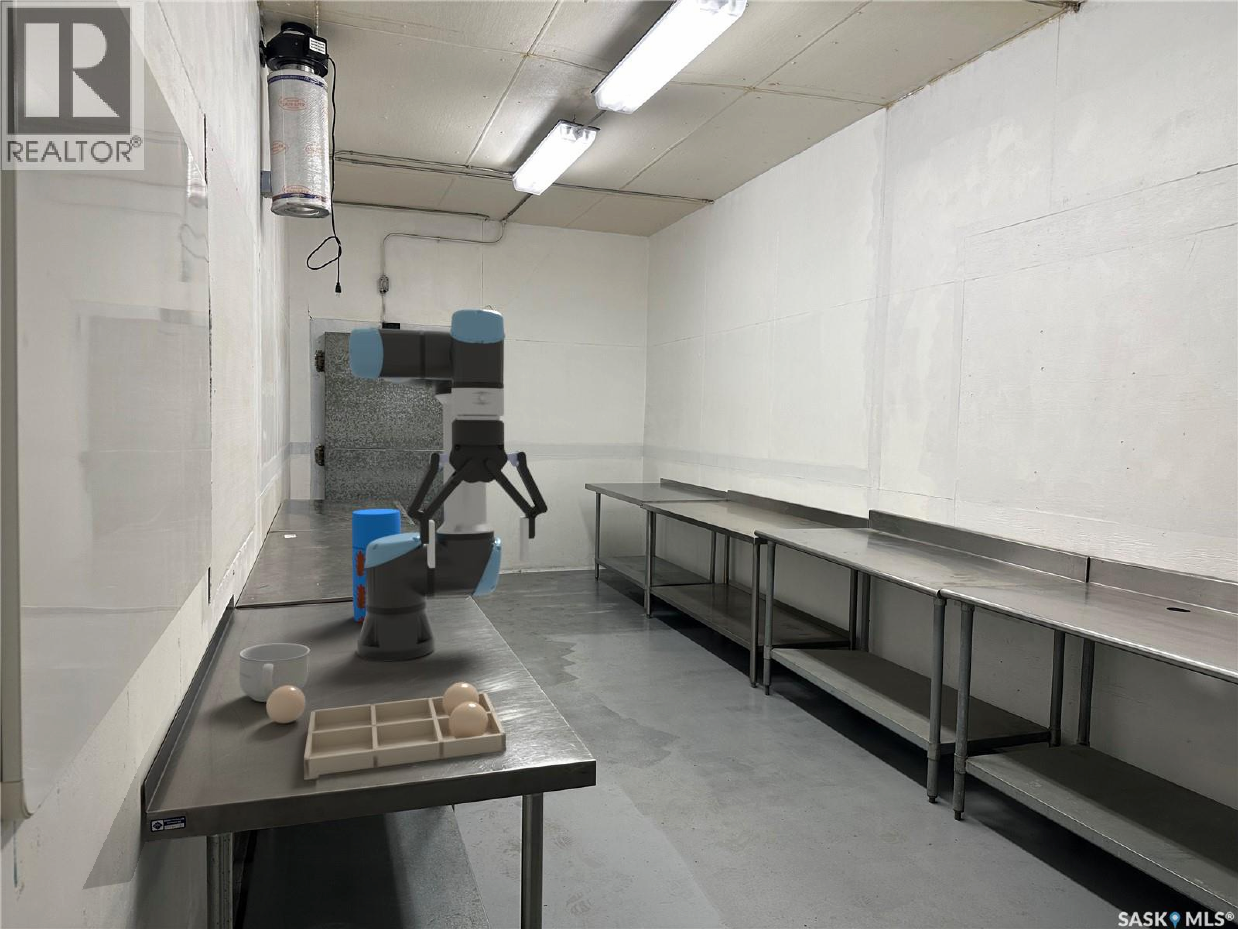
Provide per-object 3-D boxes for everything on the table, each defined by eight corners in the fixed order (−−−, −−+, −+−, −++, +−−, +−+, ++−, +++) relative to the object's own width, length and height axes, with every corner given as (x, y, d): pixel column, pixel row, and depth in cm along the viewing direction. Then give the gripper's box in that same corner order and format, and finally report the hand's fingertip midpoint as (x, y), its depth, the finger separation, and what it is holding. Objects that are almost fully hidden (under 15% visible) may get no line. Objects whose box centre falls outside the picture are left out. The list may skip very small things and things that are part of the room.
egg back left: (440, 714, 122) (440, 679, 122) (476, 710, 124) (476, 675, 123) (444, 728, 117) (444, 691, 116) (481, 723, 118) (481, 687, 118)
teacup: (254, 686, 136) (253, 641, 135) (318, 684, 137) (317, 640, 136) (220, 716, 122) (219, 666, 121) (292, 714, 123) (291, 665, 122)
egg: (268, 717, 122) (267, 682, 121) (307, 713, 123) (306, 678, 123) (264, 731, 116) (263, 694, 116) (304, 726, 118) (304, 690, 118)
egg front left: (446, 735, 114) (446, 698, 113) (484, 731, 116) (484, 694, 115) (451, 751, 109) (450, 712, 108) (491, 746, 110) (490, 707, 110)
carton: (311, 727, 118) (311, 710, 117) (485, 708, 126) (485, 691, 126) (304, 780, 101) (303, 759, 101) (505, 753, 109) (505, 734, 109)
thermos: (343, 620, 179) (341, 513, 178) (374, 609, 189) (372, 508, 188) (381, 625, 175) (380, 515, 174) (410, 614, 185) (409, 510, 184)
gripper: (390, 418, 105) (391, 573, 106) (568, 419, 113) (567, 563, 114) (386, 417, 112) (388, 563, 113) (554, 418, 120) (554, 554, 122)
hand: (478, 563), depth 114 cm, fingers open, 13 cm apart
